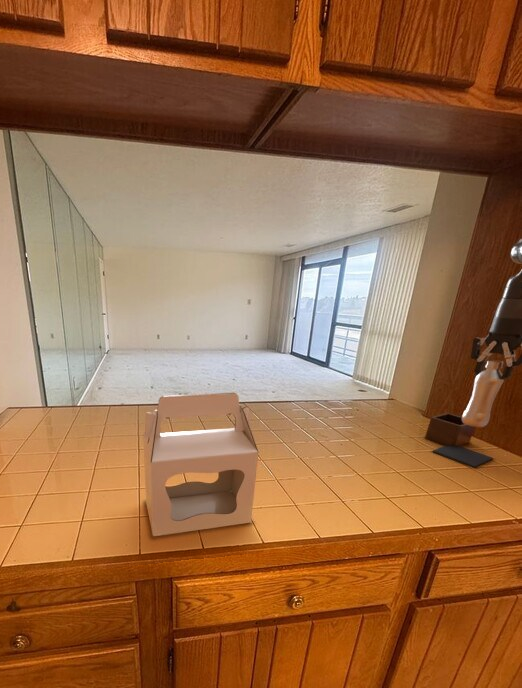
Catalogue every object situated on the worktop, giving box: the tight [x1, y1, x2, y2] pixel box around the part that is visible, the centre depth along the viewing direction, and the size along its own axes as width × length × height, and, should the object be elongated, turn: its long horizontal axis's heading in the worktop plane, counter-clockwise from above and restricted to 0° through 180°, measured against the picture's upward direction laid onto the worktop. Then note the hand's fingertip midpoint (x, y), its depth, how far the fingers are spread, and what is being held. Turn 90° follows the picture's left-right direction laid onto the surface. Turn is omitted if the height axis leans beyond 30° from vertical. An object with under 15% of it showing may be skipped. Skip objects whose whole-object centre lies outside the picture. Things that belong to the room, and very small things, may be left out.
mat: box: [432, 445, 494, 469], centre depth 111 cm, size 12×12×1 cm
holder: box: [424, 412, 476, 447], centre depth 121 cm, size 11×10×8 cm
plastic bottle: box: [461, 359, 505, 428], centre depth 103 cm, size 6×7×20 cm
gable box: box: [142, 392, 259, 537], centre depth 74 cm, size 22×13×28 cm, turn 104°
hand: (490, 376), depth 101 cm, fingers closed on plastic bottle, 5 cm apart
